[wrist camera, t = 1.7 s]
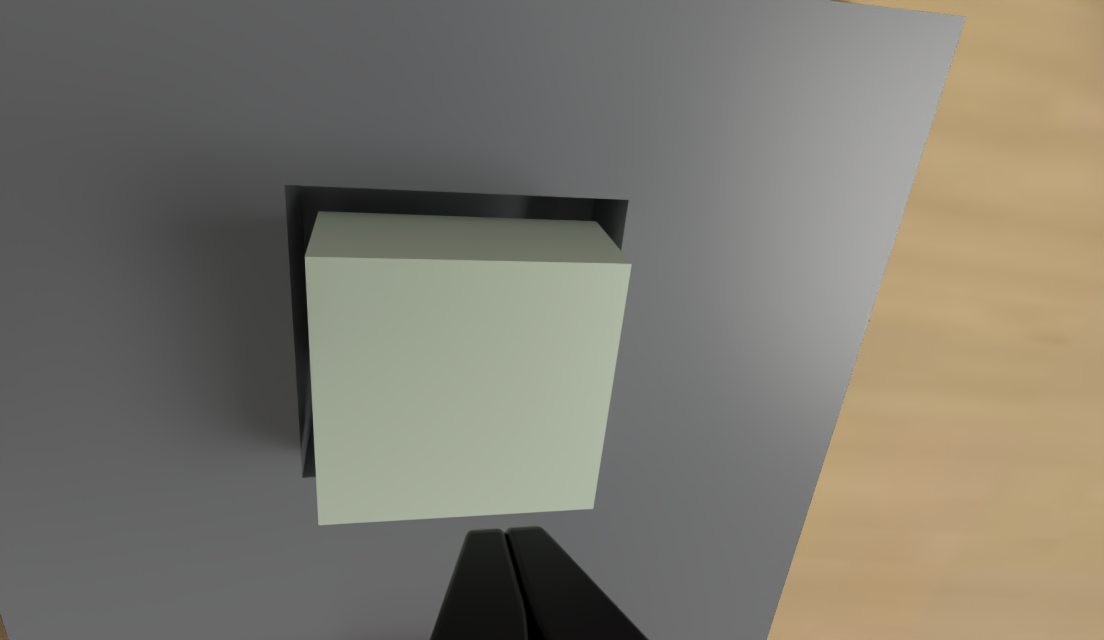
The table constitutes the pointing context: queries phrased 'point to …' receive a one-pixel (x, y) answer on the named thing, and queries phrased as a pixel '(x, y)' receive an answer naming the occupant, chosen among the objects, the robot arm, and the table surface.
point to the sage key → (459, 363)
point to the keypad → (443, 190)
